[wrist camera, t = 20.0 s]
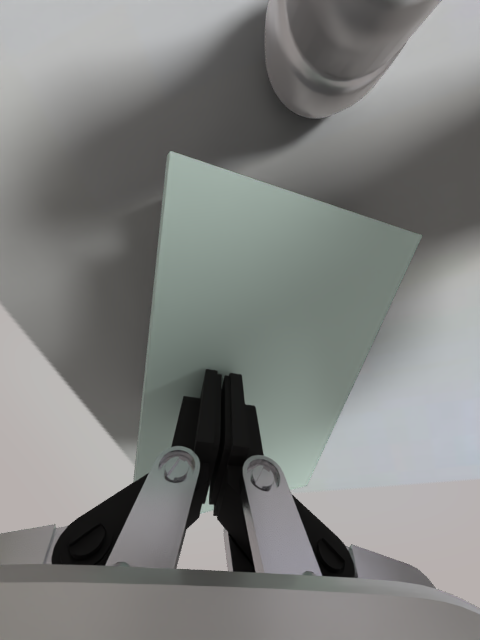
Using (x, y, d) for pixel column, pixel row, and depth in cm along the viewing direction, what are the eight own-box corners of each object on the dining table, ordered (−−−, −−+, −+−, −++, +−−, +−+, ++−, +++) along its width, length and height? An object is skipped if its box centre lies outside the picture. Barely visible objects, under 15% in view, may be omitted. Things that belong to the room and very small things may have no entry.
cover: (166, 155, 8) (170, 150, 7) (403, 233, 13) (422, 235, 12) (130, 512, 14) (129, 532, 13) (299, 473, 19) (306, 485, 18)
